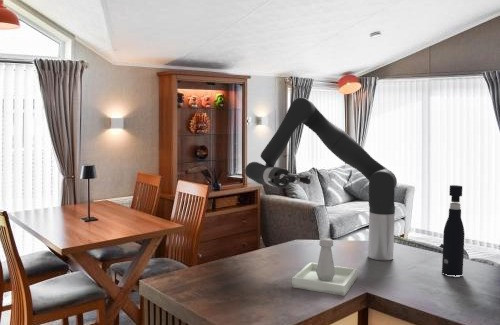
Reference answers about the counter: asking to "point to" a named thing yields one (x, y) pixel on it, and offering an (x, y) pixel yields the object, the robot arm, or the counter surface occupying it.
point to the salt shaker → (325, 260)
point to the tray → (336, 286)
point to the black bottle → (453, 236)
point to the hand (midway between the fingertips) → (298, 181)
